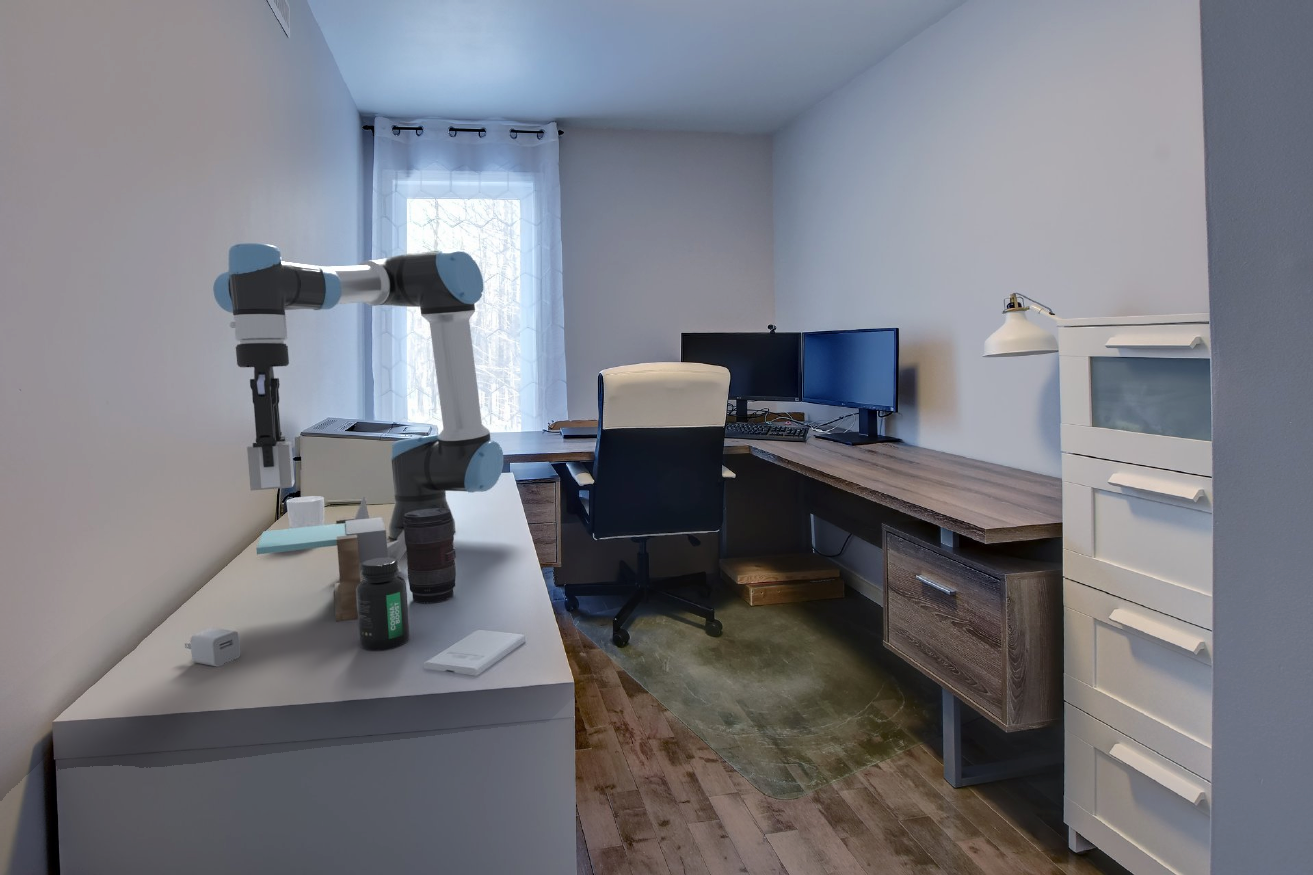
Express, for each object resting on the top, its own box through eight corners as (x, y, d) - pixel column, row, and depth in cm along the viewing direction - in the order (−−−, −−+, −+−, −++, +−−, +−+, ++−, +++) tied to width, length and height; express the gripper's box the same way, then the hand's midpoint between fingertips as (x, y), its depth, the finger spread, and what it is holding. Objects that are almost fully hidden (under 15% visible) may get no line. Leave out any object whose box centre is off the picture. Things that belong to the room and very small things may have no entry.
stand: (364, 585, 141) (359, 515, 139) (369, 616, 123) (364, 536, 122) (335, 589, 139) (329, 518, 137) (336, 621, 121) (329, 540, 120)
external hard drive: (525, 645, 110) (477, 679, 99) (476, 639, 113) (423, 672, 101) (525, 634, 110) (476, 667, 98) (475, 629, 113) (422, 660, 101)
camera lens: (442, 587, 138) (437, 505, 136) (466, 596, 132) (461, 510, 131) (400, 598, 132) (394, 512, 131) (423, 608, 127) (417, 518, 125)
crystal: (408, 575, 147) (403, 498, 145) (335, 581, 144) (329, 503, 143) (414, 562, 156) (410, 489, 155) (345, 567, 154) (340, 493, 152)
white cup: (317, 545, 174) (314, 501, 173) (283, 546, 175) (279, 502, 174) (332, 537, 182) (329, 495, 181) (299, 538, 182) (296, 496, 181)
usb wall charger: (214, 668, 104) (211, 639, 103) (179, 661, 107) (177, 633, 106) (240, 657, 108) (238, 629, 107) (206, 651, 110) (203, 624, 110)
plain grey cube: (294, 482, 130) (291, 441, 130) (292, 487, 125) (288, 444, 124) (255, 485, 128) (251, 443, 128) (250, 490, 123) (247, 447, 122)
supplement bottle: (409, 647, 109) (403, 564, 108) (357, 654, 107) (351, 570, 106) (410, 631, 116) (405, 553, 114) (361, 637, 114) (356, 558, 112)
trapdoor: (383, 543, 139) (381, 516, 138) (388, 560, 126) (386, 530, 126) (265, 557, 131) (263, 528, 131) (258, 576, 119) (256, 545, 119)
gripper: (243, 344, 132) (254, 478, 134) (226, 340, 114) (239, 494, 116) (291, 343, 134) (301, 474, 137) (282, 340, 117) (294, 490, 119)
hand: (273, 483), depth 126 cm, fingers closed on plain grey cube, 6 cm apart
